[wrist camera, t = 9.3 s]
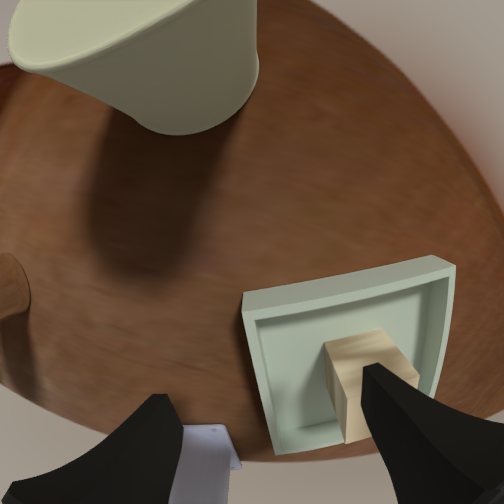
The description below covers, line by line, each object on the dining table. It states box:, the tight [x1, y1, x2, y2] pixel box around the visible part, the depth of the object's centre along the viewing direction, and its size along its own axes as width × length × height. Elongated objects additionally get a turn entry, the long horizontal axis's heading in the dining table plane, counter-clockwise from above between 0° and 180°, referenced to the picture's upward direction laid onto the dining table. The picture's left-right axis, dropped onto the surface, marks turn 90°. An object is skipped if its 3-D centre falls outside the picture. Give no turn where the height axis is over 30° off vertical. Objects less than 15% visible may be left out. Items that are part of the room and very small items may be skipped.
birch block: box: [324, 328, 420, 444], centre depth 15 cm, size 4×4×6 cm
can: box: [7, 0, 259, 135], centre depth 9 cm, size 9×9×12 cm
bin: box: [242, 255, 456, 455], centre depth 18 cm, size 14×14×3 cm
